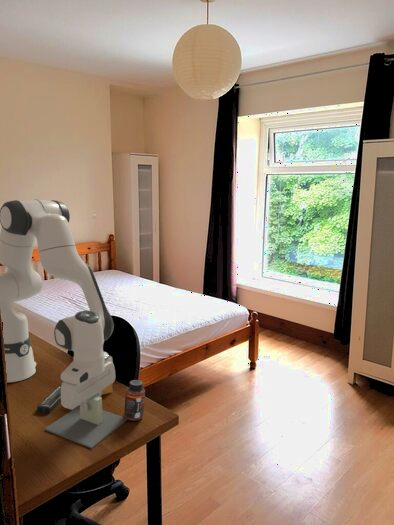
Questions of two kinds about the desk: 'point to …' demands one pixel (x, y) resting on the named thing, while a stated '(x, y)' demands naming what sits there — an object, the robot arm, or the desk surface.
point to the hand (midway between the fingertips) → (90, 407)
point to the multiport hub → (50, 401)
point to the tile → (93, 410)
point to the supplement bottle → (134, 401)
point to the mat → (85, 427)
